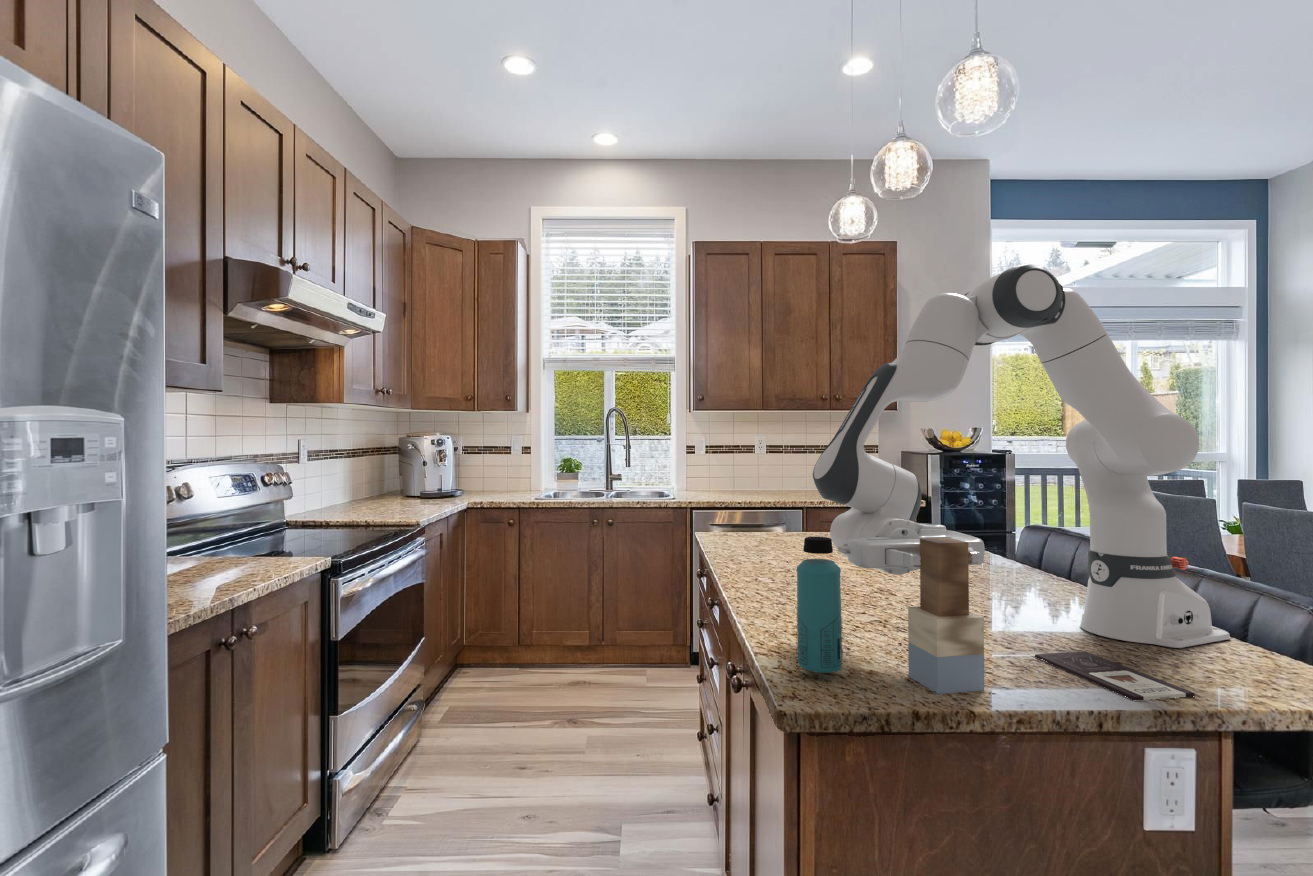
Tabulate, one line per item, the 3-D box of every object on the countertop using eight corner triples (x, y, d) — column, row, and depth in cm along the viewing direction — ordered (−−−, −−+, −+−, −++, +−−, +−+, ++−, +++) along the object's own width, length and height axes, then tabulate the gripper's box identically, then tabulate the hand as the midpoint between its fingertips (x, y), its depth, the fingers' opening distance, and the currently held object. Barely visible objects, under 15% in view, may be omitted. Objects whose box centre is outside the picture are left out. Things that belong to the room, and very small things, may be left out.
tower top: (952, 639, 97) (952, 605, 97) (984, 654, 90) (983, 617, 90) (908, 641, 95) (908, 607, 95) (936, 657, 88) (936, 619, 89)
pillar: (949, 607, 95) (948, 537, 95) (969, 615, 91) (968, 542, 91) (920, 608, 94) (919, 538, 95) (938, 616, 90) (938, 543, 90)
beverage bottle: (844, 685, 92) (844, 540, 92) (795, 682, 93) (795, 539, 93) (841, 669, 98) (840, 534, 98) (795, 666, 99) (795, 533, 100)
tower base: (952, 673, 97) (952, 639, 97) (984, 691, 90) (984, 654, 90) (908, 676, 95) (908, 641, 95) (937, 694, 88) (937, 657, 89)
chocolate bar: (1085, 651, 105) (1194, 692, 87) (1085, 657, 105) (1194, 700, 87) (1034, 654, 104) (1134, 697, 86) (1034, 660, 104) (1134, 704, 86)
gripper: (832, 527, 104) (878, 539, 90) (949, 524, 108) (1010, 535, 94) (832, 567, 104) (878, 586, 90) (949, 563, 108) (1010, 580, 94)
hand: (946, 560), depth 92 cm, fingers open, 8 cm apart
